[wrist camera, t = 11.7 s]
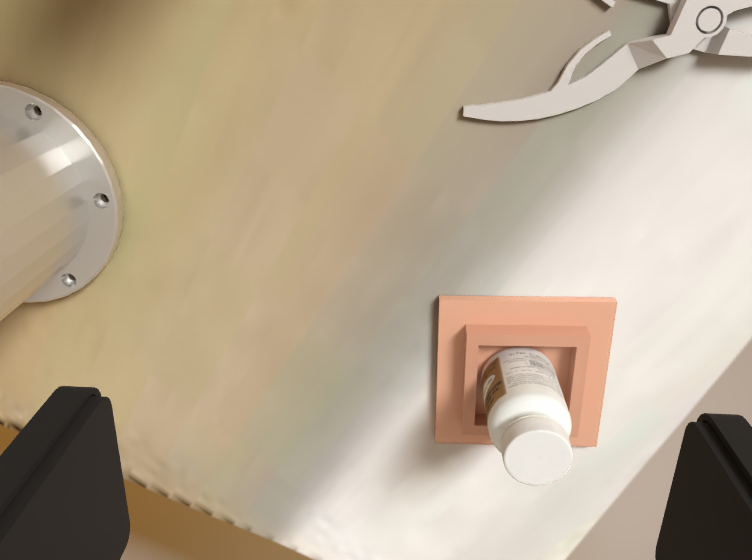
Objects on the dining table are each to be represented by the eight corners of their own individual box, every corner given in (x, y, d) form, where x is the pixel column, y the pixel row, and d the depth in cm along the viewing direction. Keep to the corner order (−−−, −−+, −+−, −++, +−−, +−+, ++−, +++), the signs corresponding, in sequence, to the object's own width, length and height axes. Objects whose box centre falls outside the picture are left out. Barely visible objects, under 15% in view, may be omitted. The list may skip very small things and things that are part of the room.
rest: (435, 436, 44) (435, 454, 43) (439, 295, 40) (439, 309, 39) (594, 440, 44) (600, 458, 42) (614, 297, 40) (622, 312, 38)
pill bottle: (474, 351, 41) (486, 430, 34) (548, 337, 40) (577, 416, 33) (486, 412, 43) (500, 500, 36) (558, 400, 42) (588, 487, 35)
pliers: (474, -98, 31) (820, -101, 30) (472, -95, 33) (802, -98, 32) (464, 124, 35) (769, 126, 34) (462, 118, 37) (755, 120, 36)
